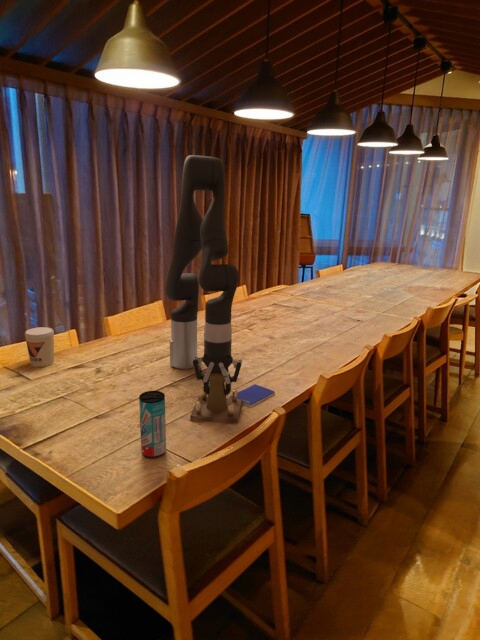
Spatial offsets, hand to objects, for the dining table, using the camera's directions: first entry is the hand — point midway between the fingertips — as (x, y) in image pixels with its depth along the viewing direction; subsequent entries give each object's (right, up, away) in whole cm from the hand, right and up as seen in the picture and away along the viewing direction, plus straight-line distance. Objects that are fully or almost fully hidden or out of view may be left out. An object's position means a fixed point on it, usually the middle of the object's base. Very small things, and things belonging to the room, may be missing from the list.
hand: (217, 393), depth 128 cm
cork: (0, -4, +1) cm, 4 cm away
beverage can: (-14, -11, -19) cm, 26 cm away
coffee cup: (-64, +5, +33) cm, 72 cm away
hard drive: (+10, -4, +12) cm, 16 cm away
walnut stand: (0, -6, +2) cm, 6 cm away
